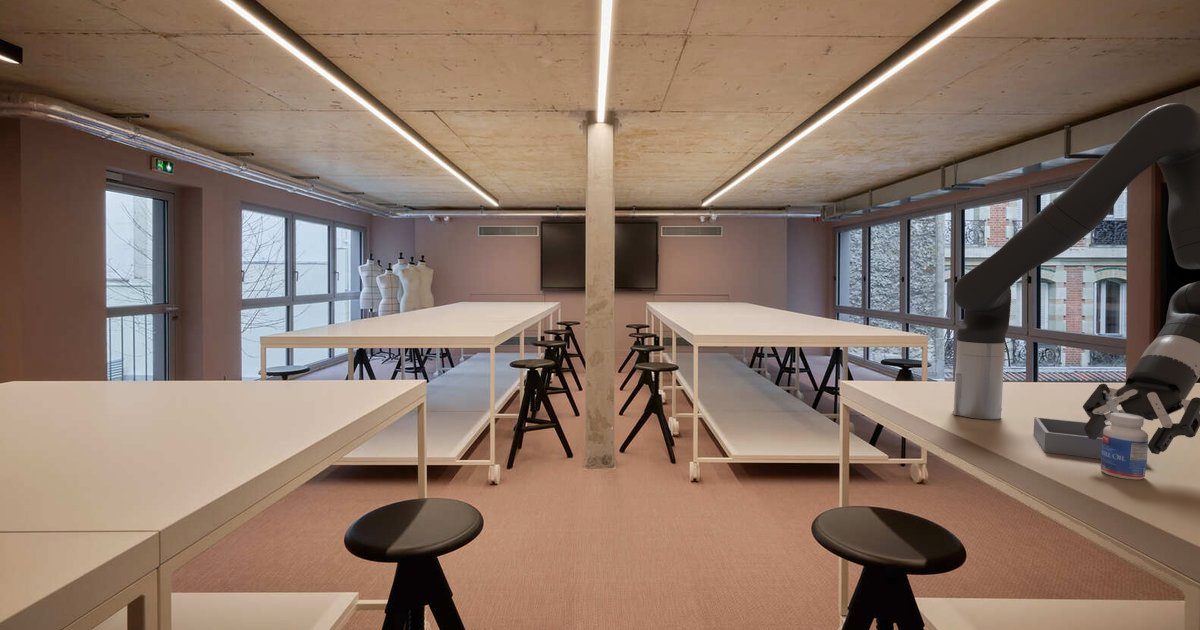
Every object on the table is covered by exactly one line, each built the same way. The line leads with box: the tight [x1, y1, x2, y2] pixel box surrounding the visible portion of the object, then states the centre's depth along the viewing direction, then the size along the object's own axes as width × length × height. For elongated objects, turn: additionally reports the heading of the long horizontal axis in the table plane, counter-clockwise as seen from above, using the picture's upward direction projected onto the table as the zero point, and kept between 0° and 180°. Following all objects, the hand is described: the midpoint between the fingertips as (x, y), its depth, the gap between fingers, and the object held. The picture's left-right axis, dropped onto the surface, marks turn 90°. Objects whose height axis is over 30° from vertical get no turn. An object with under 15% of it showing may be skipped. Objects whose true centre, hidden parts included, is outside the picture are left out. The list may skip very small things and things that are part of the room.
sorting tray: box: [1033, 416, 1149, 466], centre depth 109 cm, size 14×14×4 cm
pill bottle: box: [1100, 413, 1149, 481], centre depth 94 cm, size 6×5×10 cm
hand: (1119, 443), depth 93 cm, fingers open, 8 cm apart
